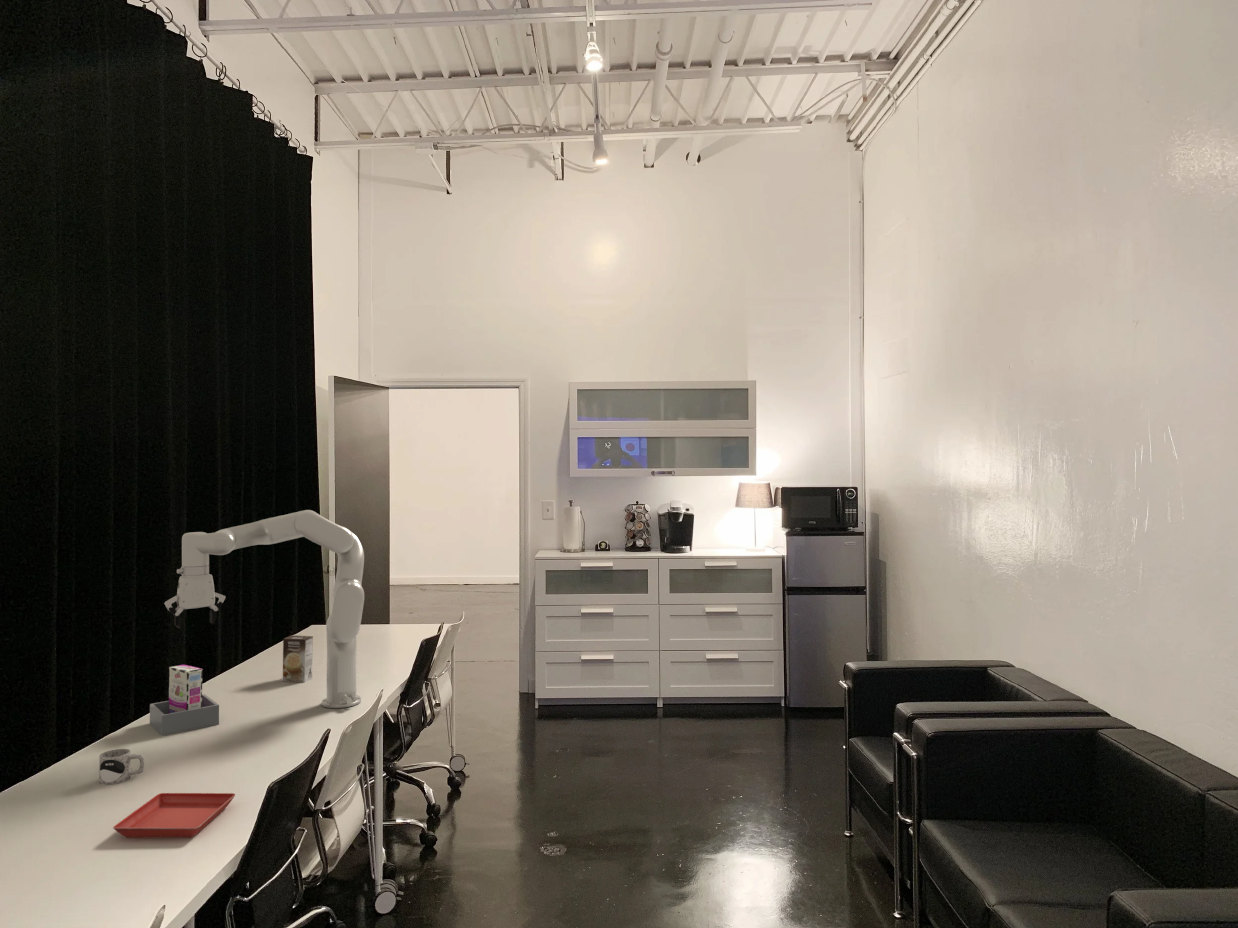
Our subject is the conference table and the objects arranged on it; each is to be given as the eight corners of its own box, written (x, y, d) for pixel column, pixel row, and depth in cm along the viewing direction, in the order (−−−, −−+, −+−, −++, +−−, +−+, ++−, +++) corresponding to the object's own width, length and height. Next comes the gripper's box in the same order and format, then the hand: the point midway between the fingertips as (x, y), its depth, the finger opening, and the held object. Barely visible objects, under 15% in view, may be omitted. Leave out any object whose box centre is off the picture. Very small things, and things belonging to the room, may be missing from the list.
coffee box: (281, 681, 289) (281, 638, 289) (290, 677, 295) (290, 634, 295) (304, 682, 288) (305, 639, 288) (313, 677, 294) (313, 635, 294)
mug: (94, 785, 193) (95, 758, 193) (104, 775, 200) (105, 749, 200) (140, 781, 196) (140, 755, 196) (148, 771, 202) (148, 746, 202)
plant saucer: (236, 805, 183) (236, 791, 183) (197, 842, 164) (197, 826, 165) (159, 806, 182) (159, 792, 182) (110, 843, 164) (111, 827, 164)
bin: (218, 724, 240) (219, 704, 240) (161, 735, 229) (162, 715, 230) (204, 712, 252) (204, 694, 252) (149, 723, 241) (149, 703, 241)
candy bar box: (203, 721, 240) (203, 668, 240) (186, 725, 236) (187, 671, 236) (183, 715, 246) (184, 663, 246) (167, 719, 242) (168, 666, 242)
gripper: (168, 575, 236) (168, 631, 236) (228, 569, 248) (228, 623, 248) (161, 572, 241) (161, 627, 241) (221, 567, 253) (221, 619, 253)
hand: (195, 625), depth 244 cm, fingers open, 9 cm apart
